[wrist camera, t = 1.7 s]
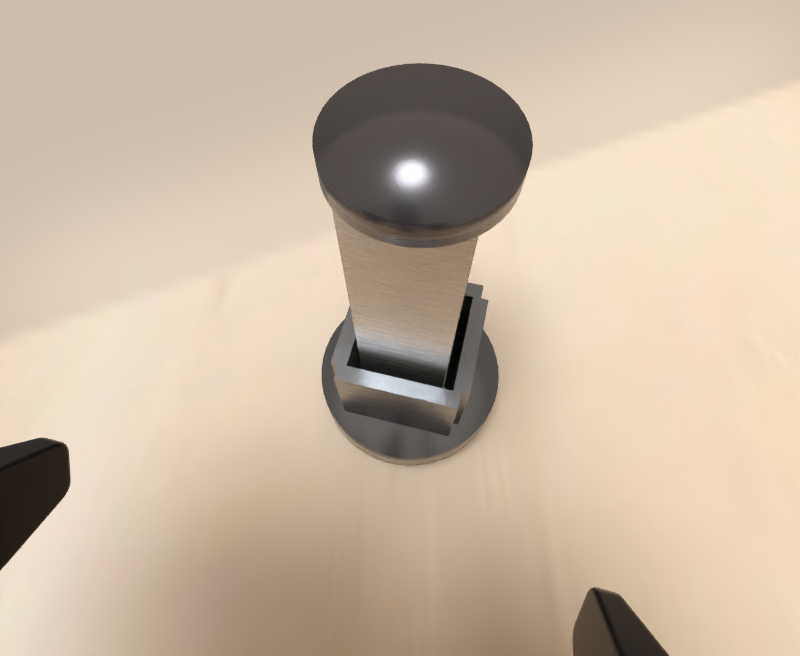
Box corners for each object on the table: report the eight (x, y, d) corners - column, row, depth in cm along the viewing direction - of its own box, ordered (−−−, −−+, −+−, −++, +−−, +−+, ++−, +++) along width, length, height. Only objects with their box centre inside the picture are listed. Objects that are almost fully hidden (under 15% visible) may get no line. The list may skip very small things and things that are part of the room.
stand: (476, 485, 21) (501, 458, 16) (303, 440, 22) (274, 402, 17) (504, 326, 25) (531, 263, 20) (353, 292, 26) (341, 224, 21)
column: (450, 427, 21) (515, 244, 9) (345, 402, 21) (280, 197, 10) (469, 332, 23) (544, 81, 11) (374, 311, 23) (348, 49, 11)
